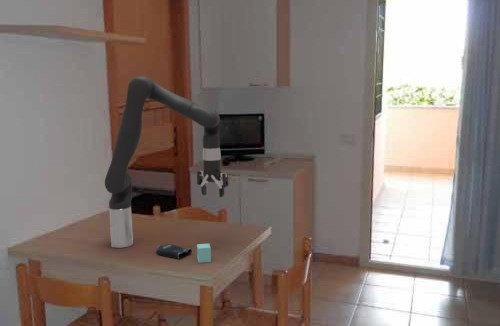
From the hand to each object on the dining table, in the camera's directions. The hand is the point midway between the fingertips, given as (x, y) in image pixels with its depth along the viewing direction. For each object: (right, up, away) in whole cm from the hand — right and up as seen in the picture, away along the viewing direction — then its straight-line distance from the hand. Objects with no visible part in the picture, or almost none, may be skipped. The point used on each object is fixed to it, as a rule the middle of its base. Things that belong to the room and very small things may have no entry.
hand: (212, 195), depth 212 cm
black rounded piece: (-17, -24, -4) cm, 30 cm away
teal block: (-3, -25, -12) cm, 28 cm away
